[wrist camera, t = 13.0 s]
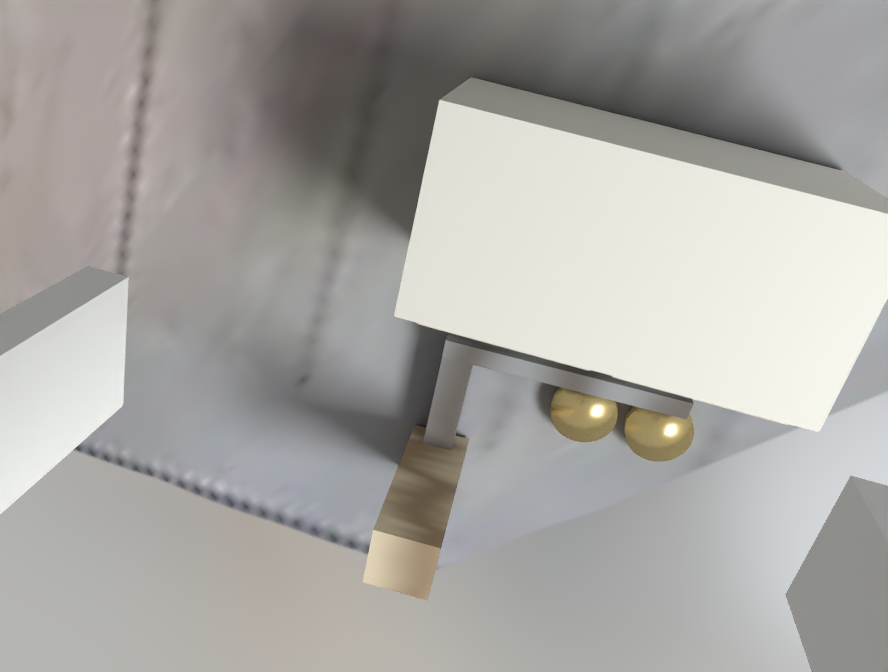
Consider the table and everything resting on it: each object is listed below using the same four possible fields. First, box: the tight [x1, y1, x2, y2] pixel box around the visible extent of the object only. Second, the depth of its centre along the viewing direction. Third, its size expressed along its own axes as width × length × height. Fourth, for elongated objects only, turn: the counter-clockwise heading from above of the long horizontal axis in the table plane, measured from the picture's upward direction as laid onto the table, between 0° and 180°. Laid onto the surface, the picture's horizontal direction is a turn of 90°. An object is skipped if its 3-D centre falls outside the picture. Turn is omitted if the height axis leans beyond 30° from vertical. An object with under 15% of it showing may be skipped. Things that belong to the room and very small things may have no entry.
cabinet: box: [394, 77, 888, 432], centre depth 41 cm, size 22×11×11 cm, turn 77°
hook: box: [363, 333, 693, 600], centre depth 48 cm, size 17×12×12 cm
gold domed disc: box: [624, 406, 694, 461], centre depth 51 cm, size 4×4×1 cm
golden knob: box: [551, 387, 618, 442], centre depth 52 cm, size 4×4×1 cm
